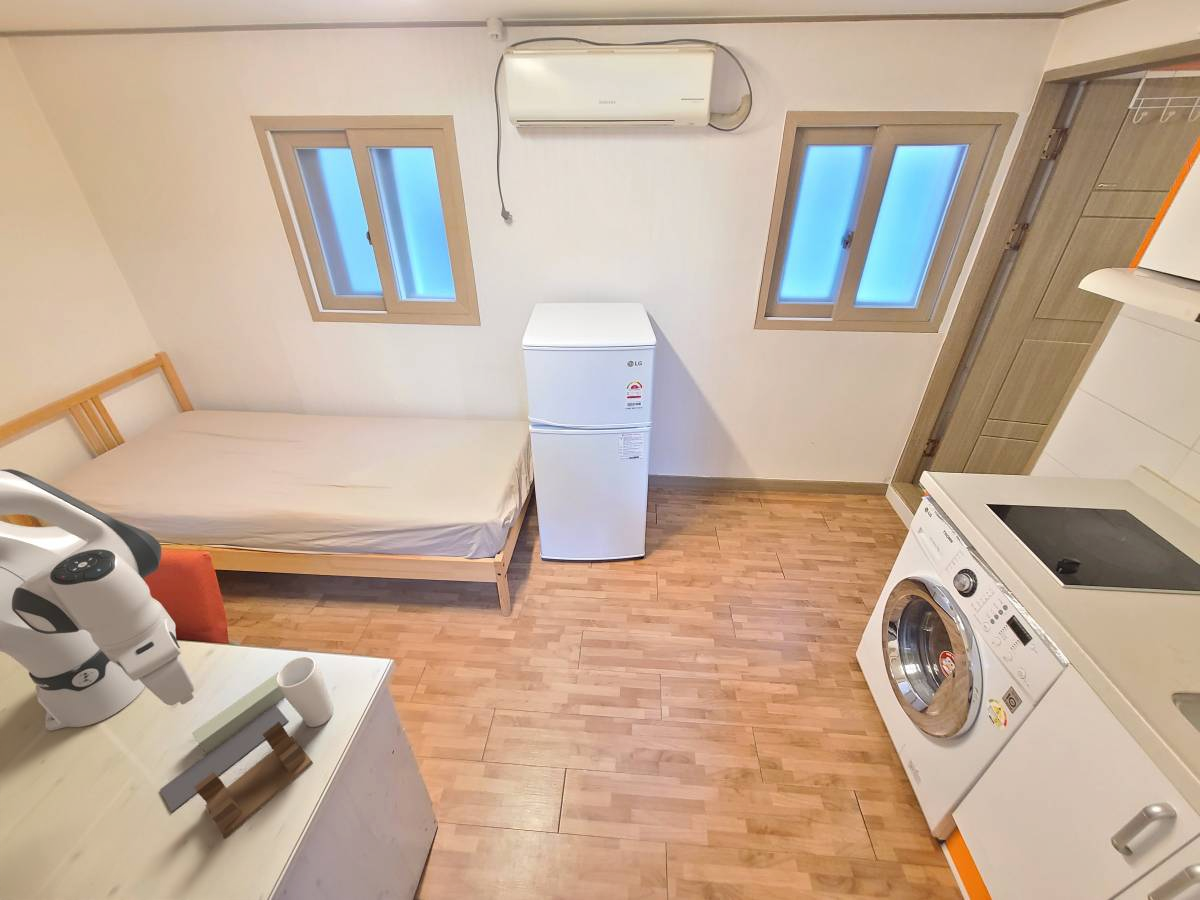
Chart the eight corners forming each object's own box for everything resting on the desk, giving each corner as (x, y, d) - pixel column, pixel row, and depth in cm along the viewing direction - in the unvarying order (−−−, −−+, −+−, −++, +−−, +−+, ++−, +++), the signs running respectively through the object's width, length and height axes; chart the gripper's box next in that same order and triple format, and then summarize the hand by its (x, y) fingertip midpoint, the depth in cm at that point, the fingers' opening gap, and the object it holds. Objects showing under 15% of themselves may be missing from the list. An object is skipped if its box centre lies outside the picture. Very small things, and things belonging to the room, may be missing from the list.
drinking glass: (332, 693, 104) (310, 649, 97) (342, 716, 100) (320, 672, 92) (298, 714, 101) (272, 669, 93) (306, 739, 96) (280, 695, 88)
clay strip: (207, 754, 94) (198, 743, 92) (200, 743, 96) (191, 732, 94) (292, 692, 105) (285, 681, 103) (284, 683, 107) (278, 672, 105)
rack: (207, 807, 86) (190, 789, 83) (293, 737, 97) (281, 719, 93) (225, 838, 82) (208, 821, 79) (312, 762, 93) (301, 744, 89)
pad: (160, 790, 89) (160, 789, 89) (275, 704, 102) (274, 703, 102) (172, 812, 86) (171, 811, 86) (288, 721, 99) (288, 720, 99)
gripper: (98, 616, 83) (140, 665, 91) (131, 682, 73) (175, 732, 80) (143, 593, 88) (180, 642, 95) (181, 652, 77) (219, 702, 84)
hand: (178, 684), depth 87 cm, fingers open, 8 cm apart
